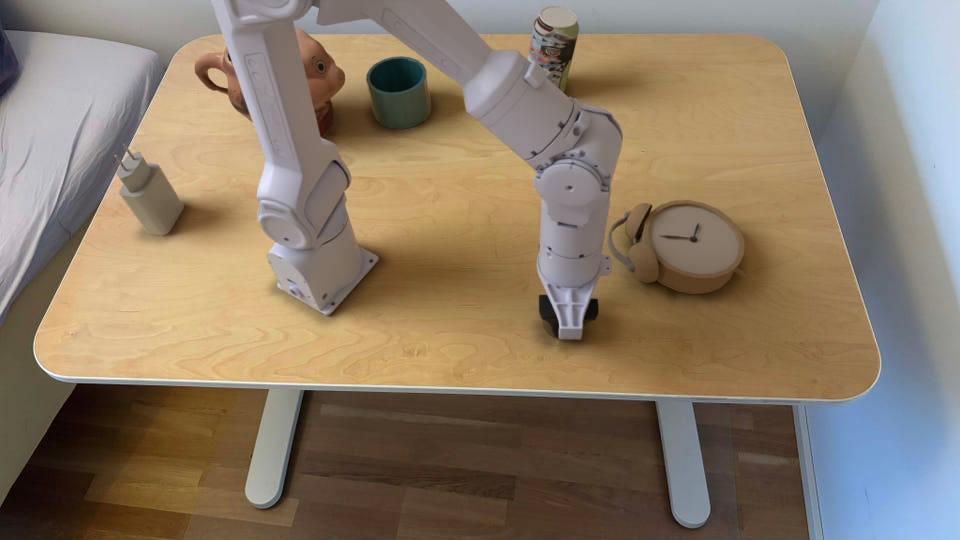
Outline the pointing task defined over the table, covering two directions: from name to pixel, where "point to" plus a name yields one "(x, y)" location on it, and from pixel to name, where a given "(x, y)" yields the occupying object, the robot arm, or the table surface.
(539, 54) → the beverage can
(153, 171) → the power adapter
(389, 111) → the cup
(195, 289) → the table surface
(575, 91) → the table surface
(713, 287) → the alarm clock
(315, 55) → the decorative planter
